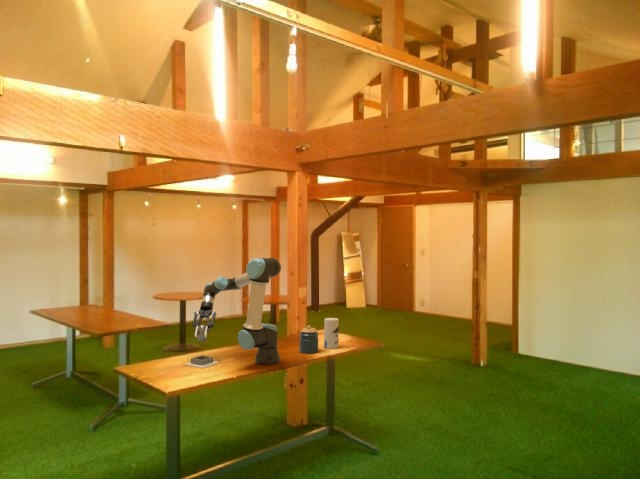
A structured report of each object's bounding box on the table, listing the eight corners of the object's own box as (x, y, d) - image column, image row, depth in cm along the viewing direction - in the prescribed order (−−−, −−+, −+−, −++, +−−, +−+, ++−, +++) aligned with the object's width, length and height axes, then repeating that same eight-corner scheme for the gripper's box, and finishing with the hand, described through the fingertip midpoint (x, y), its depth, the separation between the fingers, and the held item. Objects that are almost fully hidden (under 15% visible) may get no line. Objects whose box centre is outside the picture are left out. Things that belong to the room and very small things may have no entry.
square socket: (218, 363, 289) (219, 356, 289) (202, 368, 276) (202, 361, 276) (201, 360, 296) (201, 354, 296) (184, 365, 283) (185, 358, 283)
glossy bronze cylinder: (208, 340, 287) (208, 325, 287) (202, 341, 283) (202, 326, 283) (201, 339, 290) (202, 324, 290) (196, 340, 285) (196, 325, 285)
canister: (315, 348, 329) (315, 323, 329) (321, 353, 316) (321, 326, 316) (296, 350, 324) (297, 324, 324) (302, 354, 312) (302, 327, 312)
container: (337, 349, 328) (337, 320, 328) (322, 348, 330) (323, 319, 330) (339, 346, 337) (339, 317, 337) (325, 345, 339) (325, 317, 339)
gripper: (222, 308, 302) (216, 340, 285) (193, 308, 301) (186, 339, 285) (220, 301, 296) (214, 332, 280) (191, 301, 296) (184, 332, 280)
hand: (200, 336), depth 282 cm, fingers closed on glossy bronze cylinder, 5 cm apart
